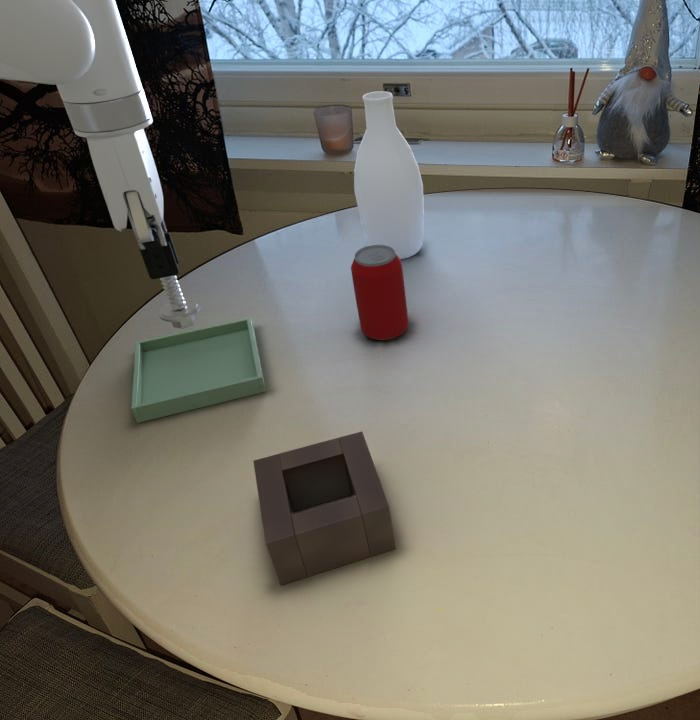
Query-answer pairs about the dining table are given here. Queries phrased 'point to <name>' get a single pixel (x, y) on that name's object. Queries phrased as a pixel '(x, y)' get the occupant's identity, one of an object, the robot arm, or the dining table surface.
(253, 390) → the tray
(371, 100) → the bottle
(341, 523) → the holder
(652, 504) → the dining table surface
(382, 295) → the beverage can
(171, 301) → the screw
